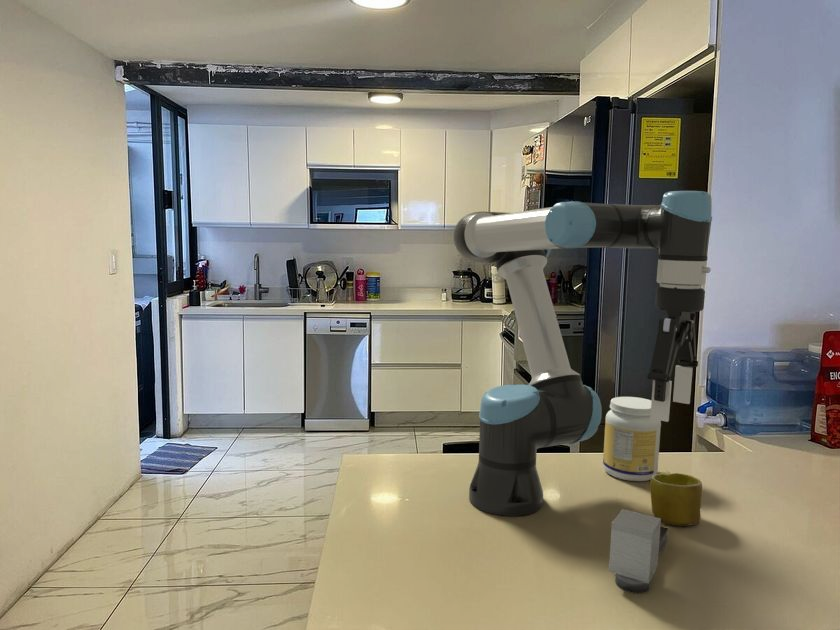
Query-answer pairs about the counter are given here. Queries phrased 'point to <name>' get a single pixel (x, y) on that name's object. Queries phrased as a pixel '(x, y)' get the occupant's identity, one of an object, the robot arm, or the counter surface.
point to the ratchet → (637, 585)
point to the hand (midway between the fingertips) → (670, 410)
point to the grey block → (634, 545)
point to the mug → (676, 498)
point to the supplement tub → (631, 440)
